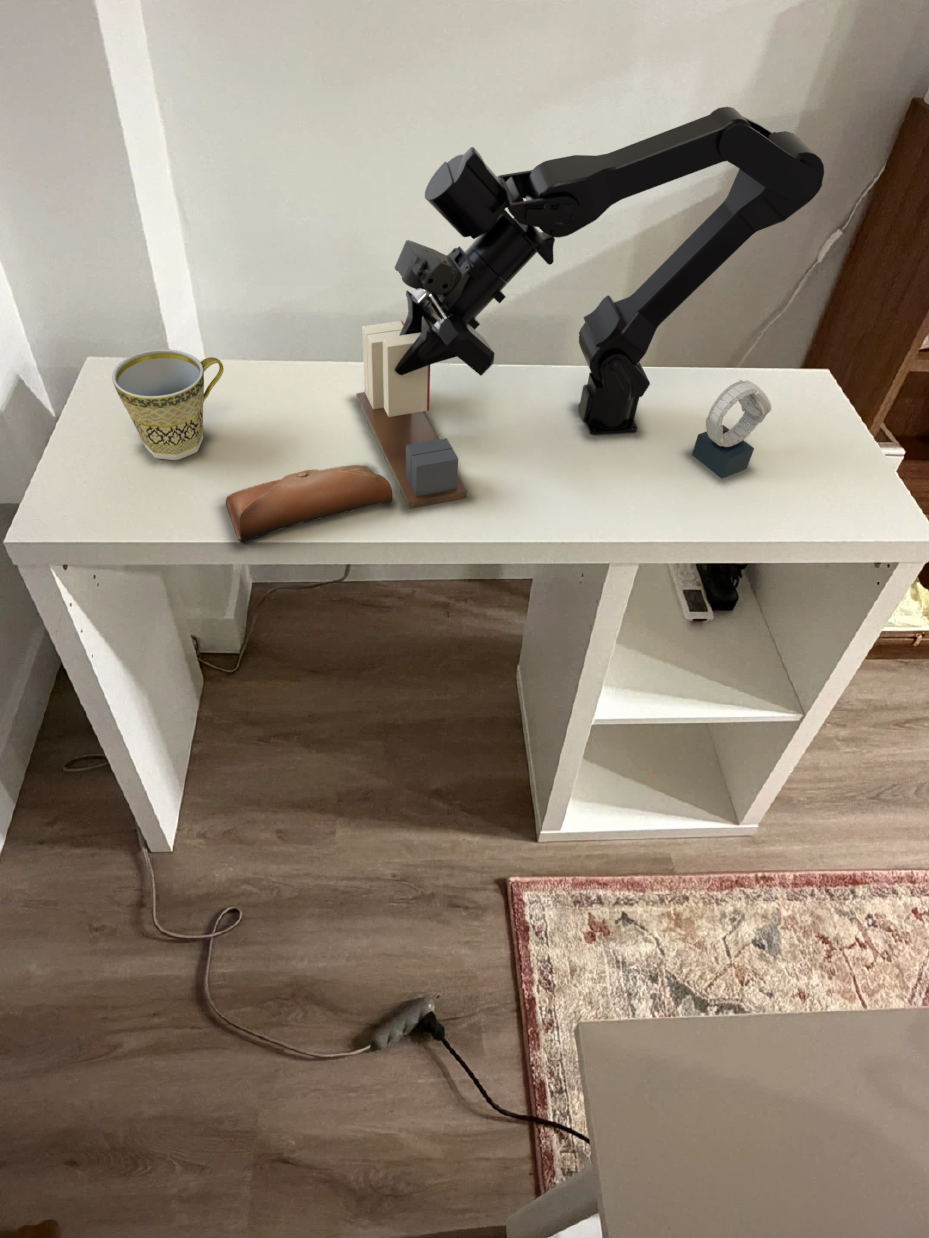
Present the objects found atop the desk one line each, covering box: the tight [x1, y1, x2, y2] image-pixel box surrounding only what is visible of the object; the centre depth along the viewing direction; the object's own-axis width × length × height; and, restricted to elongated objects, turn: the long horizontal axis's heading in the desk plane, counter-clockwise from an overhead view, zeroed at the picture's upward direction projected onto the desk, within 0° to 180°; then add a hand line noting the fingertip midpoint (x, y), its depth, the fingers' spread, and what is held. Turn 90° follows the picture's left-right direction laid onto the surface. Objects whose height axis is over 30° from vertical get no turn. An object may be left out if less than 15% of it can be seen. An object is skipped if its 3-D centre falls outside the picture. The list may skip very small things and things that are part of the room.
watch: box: [691, 379, 772, 480], centre depth 105 cm, size 6×8×11 cm
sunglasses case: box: [225, 464, 394, 542], centre depth 98 cm, size 18×7×7 cm, turn 116°
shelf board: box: [355, 391, 468, 509], centre depth 107 cm, size 7×23×1 cm, turn 20°
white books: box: [361, 320, 405, 409], centre depth 109 cm, size 5×4×10 cm
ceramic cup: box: [111, 348, 224, 461], centre depth 102 cm, size 13×10×10 cm
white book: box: [383, 333, 431, 417], centre depth 102 cm, size 5×2×10 cm, turn 110°
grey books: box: [406, 437, 459, 497], centre depth 100 cm, size 5×4×4 cm
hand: (394, 367), depth 100 cm, fingers closed on white book, 2 cm apart
